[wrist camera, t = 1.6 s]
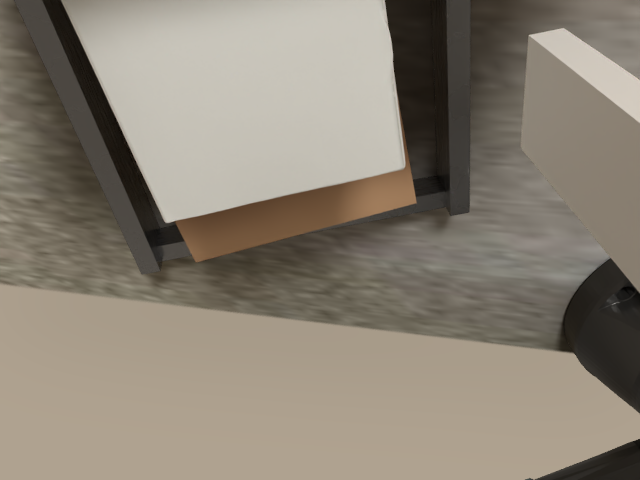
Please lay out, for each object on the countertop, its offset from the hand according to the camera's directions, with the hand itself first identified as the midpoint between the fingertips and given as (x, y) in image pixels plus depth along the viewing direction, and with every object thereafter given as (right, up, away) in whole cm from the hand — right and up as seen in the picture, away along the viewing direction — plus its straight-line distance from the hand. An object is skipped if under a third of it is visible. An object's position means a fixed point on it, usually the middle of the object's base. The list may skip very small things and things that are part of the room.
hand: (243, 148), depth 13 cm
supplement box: (-2, +12, +16) cm, 20 cm away
